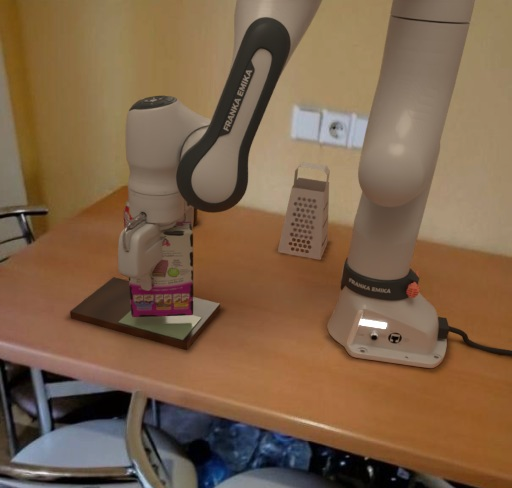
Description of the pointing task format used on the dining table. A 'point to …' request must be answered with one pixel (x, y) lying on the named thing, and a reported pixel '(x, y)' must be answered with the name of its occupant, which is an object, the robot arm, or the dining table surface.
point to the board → (153, 328)
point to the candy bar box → (168, 278)
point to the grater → (307, 215)
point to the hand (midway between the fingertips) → (158, 278)
